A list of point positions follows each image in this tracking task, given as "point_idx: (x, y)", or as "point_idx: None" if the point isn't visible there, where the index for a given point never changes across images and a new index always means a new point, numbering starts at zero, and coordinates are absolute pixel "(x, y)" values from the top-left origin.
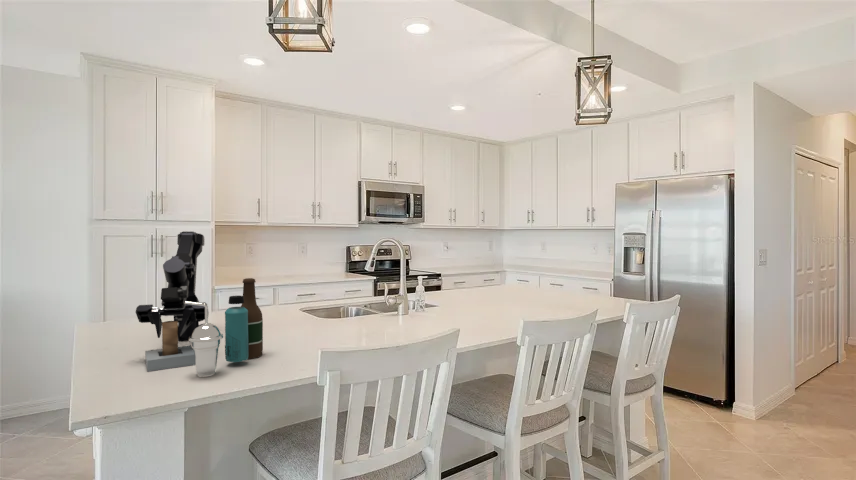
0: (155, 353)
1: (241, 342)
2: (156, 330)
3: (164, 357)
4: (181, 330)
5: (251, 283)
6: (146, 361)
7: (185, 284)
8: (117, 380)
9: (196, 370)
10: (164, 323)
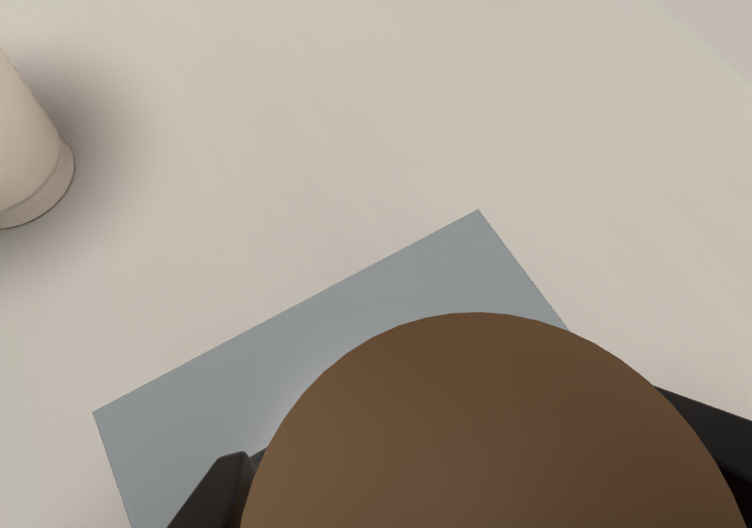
0: None
1: None
2: (692, 402)
3: (377, 304)
4: (179, 513)
5: None
6: None
7: None
8: (540, 96)
9: (52, 122)
10: (553, 334)
